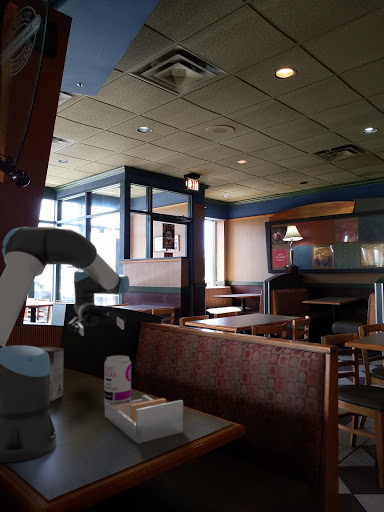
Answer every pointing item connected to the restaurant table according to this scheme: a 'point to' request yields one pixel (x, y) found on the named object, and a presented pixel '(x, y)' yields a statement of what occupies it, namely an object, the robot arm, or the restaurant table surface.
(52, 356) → the coffee box
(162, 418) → the white drawer tray
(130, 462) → the restaurant table surface
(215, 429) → the restaurant table surface
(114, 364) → the supplement can
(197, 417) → the restaurant table surface
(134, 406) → the plate
